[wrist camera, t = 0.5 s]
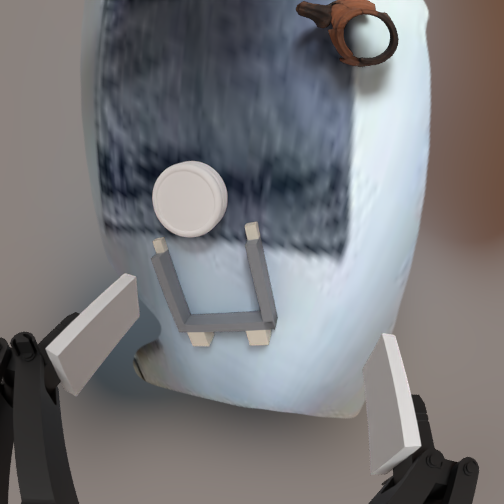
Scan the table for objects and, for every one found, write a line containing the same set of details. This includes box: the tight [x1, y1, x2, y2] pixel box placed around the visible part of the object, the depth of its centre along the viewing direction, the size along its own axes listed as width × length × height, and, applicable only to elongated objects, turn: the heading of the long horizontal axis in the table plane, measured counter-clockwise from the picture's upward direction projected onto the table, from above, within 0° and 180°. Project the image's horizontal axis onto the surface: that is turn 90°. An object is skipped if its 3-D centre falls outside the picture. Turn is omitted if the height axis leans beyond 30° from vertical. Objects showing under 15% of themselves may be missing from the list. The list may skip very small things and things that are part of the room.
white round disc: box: [152, 161, 227, 237], centre depth 37 cm, size 10×10×4 cm
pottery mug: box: [296, 0, 398, 67], centre depth 24 cm, size 12×9×8 cm
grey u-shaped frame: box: [151, 222, 278, 346], centre depth 42 cm, size 18×16×3 cm
